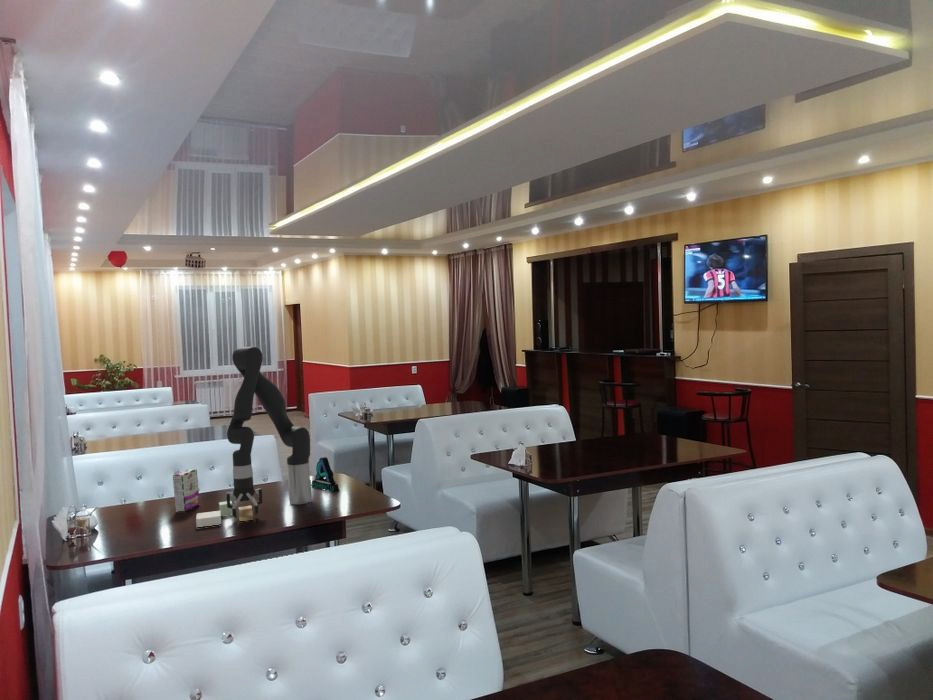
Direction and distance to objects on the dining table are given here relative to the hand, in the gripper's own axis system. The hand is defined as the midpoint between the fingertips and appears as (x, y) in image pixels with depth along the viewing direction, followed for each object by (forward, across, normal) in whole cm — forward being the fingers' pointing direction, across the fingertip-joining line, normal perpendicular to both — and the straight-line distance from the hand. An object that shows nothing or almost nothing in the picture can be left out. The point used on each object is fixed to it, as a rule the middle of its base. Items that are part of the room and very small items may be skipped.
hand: (245, 516), depth 285 cm
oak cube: (+2, 0, 0) cm, 2 cm away
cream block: (+2, +14, -2) cm, 14 cm away
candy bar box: (+2, +22, -32) cm, 39 cm away
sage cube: (+2, +7, -13) cm, 15 cm away
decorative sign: (+2, -38, -34) cm, 51 cm away
